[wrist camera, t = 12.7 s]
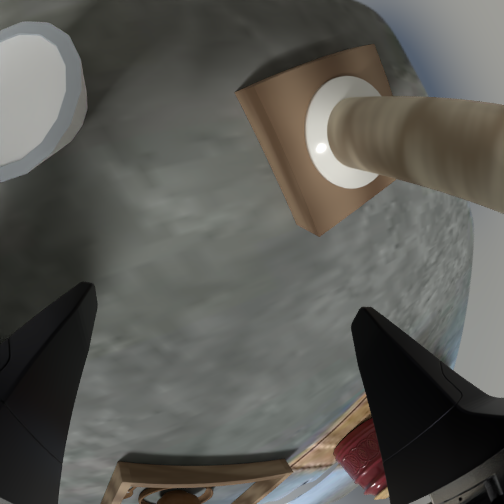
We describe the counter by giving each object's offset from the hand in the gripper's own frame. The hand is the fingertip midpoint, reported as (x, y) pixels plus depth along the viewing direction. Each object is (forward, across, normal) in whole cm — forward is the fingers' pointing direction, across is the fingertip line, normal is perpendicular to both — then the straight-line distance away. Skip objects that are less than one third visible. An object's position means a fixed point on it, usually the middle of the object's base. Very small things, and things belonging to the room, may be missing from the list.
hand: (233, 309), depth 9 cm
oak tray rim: (+2, +1, +47) cm, 47 cm away
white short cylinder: (+10, +12, -4) cm, 16 cm away
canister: (+12, -33, +45) cm, 57 cm away
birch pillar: (+12, -8, -5) cm, 15 cm away
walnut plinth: (+15, -7, -5) cm, 17 cm away
